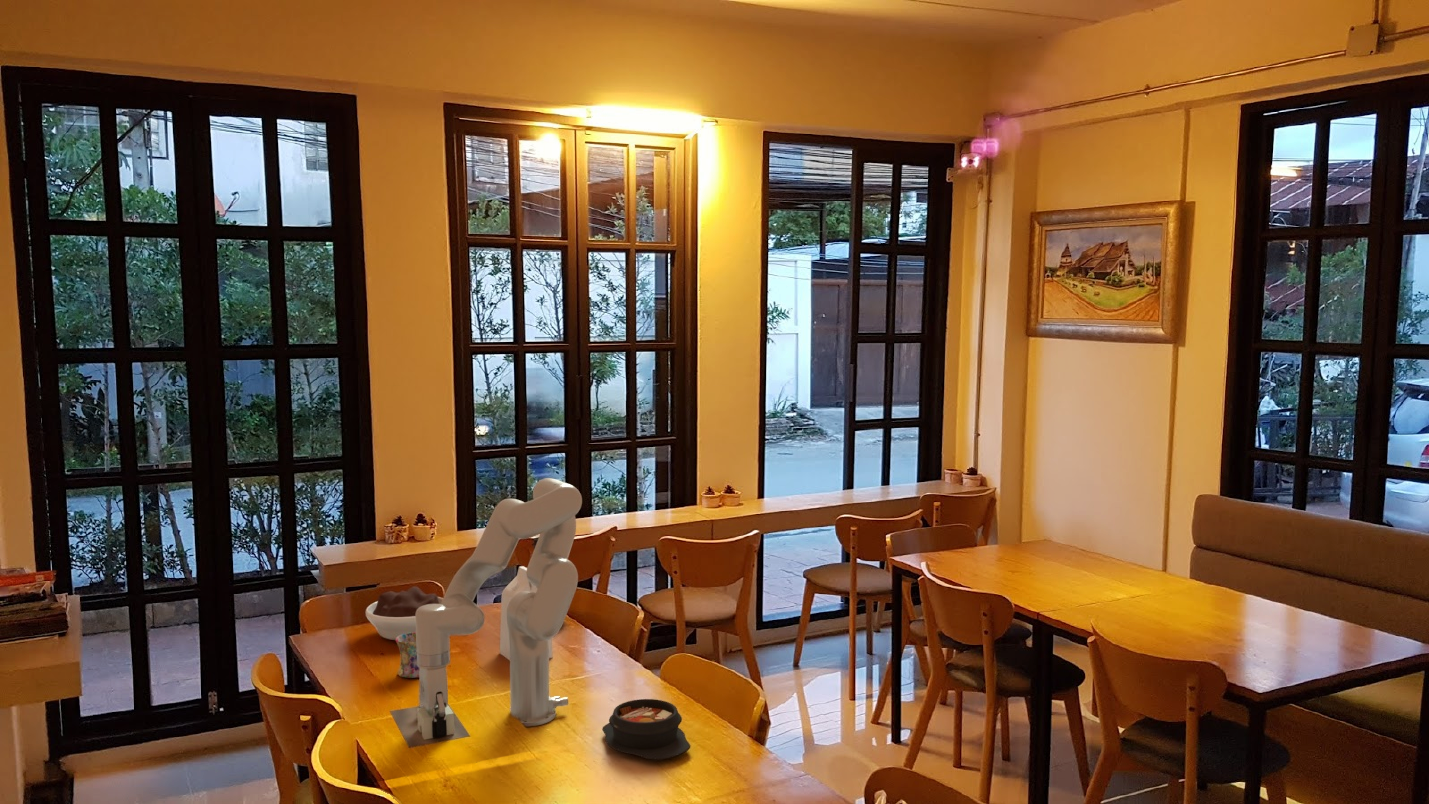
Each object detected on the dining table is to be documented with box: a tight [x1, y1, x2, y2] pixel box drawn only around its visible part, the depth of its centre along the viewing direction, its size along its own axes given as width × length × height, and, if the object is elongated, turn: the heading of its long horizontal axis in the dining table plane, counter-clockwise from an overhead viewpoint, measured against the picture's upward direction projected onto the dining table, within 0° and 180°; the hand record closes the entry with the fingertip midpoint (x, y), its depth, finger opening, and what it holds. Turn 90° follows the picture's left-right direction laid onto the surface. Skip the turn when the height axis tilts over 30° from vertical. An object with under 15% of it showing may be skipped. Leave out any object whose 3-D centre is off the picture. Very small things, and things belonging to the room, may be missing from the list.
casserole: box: [601, 698, 691, 761], centre depth 240 cm, size 25×19×8 cm
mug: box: [395, 632, 420, 679], centre depth 286 cm, size 12×9×11 cm
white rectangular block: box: [417, 705, 455, 740], centre depth 243 cm, size 7×7×5 cm
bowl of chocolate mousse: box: [365, 585, 444, 641], centre depth 319 cm, size 25×25×15 cm
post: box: [418, 697, 424, 708], centre depth 253 cm, size 2×4×6 cm, turn 28°
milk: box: [499, 565, 554, 661], centre depth 301 cm, size 12×12×26 cm
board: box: [389, 703, 471, 749], centre depth 248 cm, size 14×24×2 cm, turn 28°
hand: (435, 730), depth 243 cm, fingers closed on white rectangular block, 7 cm apart
